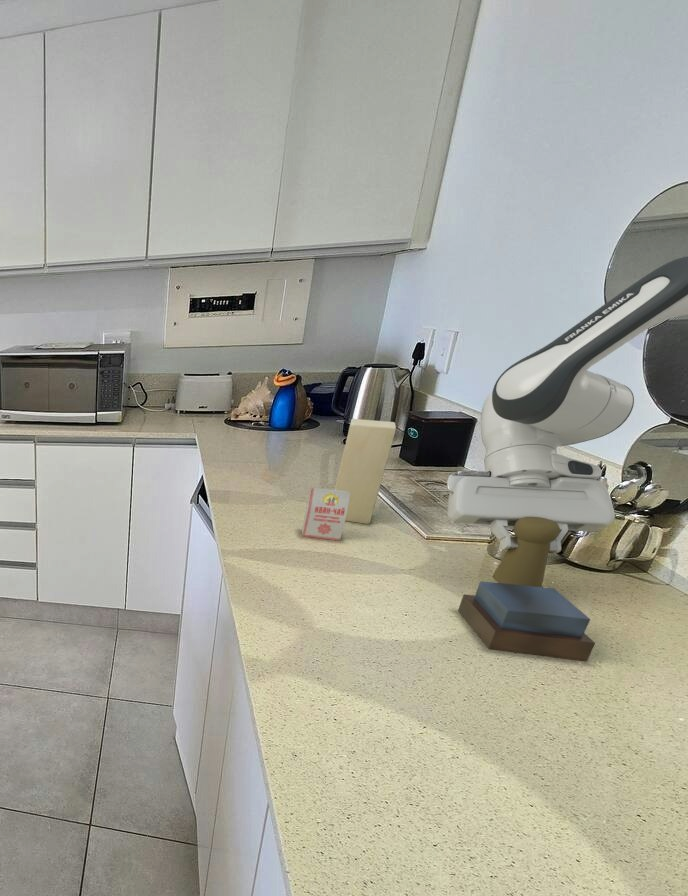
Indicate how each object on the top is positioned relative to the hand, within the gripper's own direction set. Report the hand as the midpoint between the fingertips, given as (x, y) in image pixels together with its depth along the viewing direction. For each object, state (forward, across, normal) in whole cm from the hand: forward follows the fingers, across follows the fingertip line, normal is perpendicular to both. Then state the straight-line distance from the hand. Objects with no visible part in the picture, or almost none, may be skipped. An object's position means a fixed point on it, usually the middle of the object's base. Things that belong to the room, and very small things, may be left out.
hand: (531, 550), depth 91 cm
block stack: (+15, -4, -3) cm, 16 cm away
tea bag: (-9, -24, +21) cm, 33 cm away
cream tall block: (-18, -16, +30) cm, 38 cm away
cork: (+4, 0, +5) cm, 6 cm away
